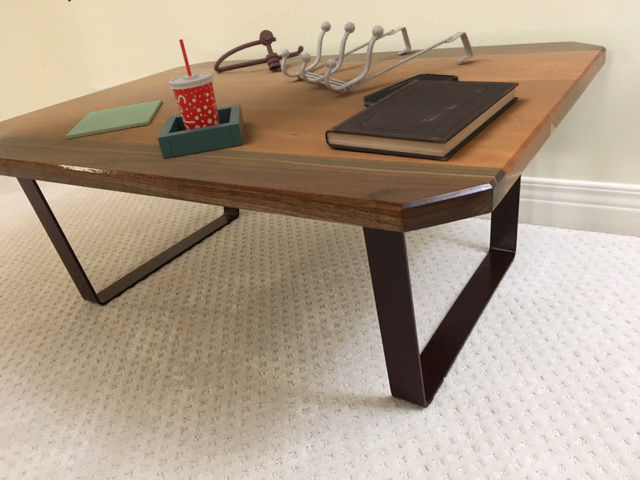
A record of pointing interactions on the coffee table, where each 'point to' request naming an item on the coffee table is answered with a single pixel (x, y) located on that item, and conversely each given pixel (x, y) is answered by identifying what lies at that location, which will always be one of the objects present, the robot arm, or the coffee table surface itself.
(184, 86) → the beverage cup
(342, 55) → the over door rack
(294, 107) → the coffee table surface
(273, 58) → the toilet paper hanger
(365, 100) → the phone
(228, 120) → the open rectangular box
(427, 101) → the hardcover book
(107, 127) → the mat
